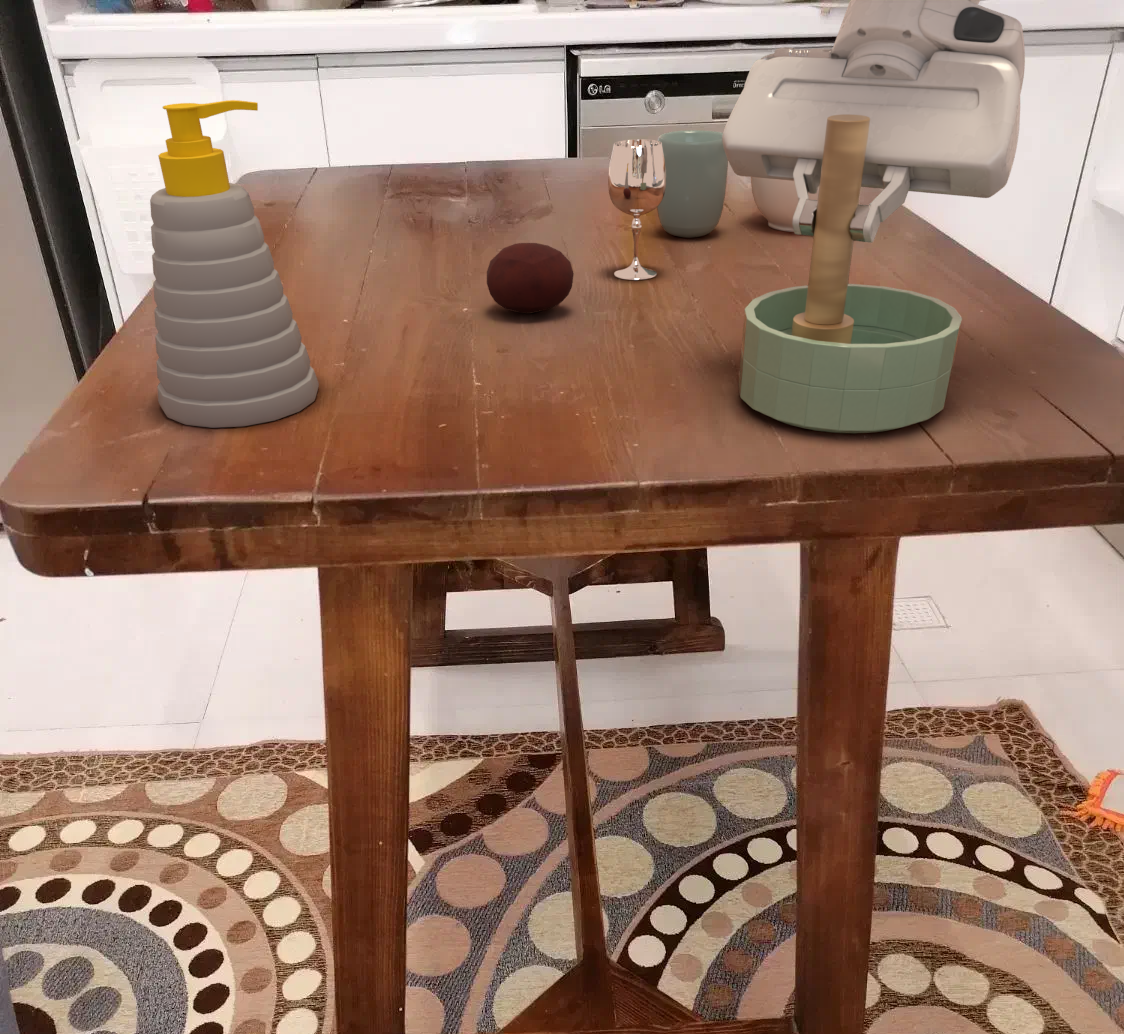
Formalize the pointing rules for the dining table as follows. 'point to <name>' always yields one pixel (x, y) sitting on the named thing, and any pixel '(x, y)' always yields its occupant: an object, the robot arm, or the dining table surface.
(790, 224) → the lidded bowl
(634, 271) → the wineglass
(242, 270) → the soap bottle
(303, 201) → the dining table surface
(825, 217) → the muddler
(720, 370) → the dining table surface
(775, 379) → the mixing bowl
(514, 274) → the potato
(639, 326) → the dining table surface
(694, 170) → the cup
